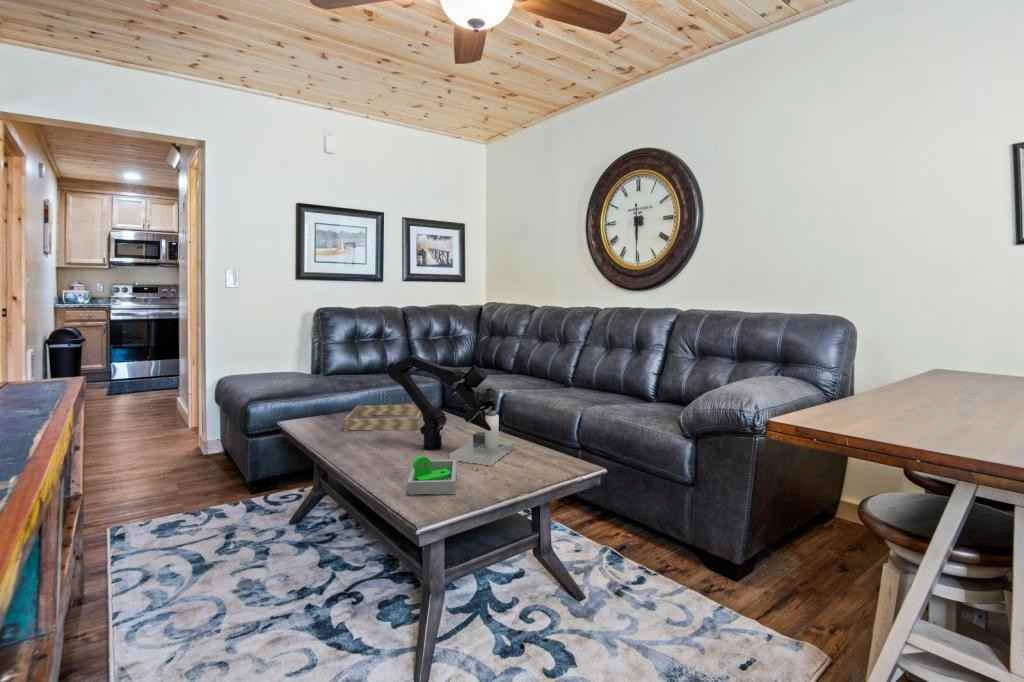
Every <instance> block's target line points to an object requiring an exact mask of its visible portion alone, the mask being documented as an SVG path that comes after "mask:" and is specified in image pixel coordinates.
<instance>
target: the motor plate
mask: <svg viewBox="0 0 1024 682" xmlns="http://www.w3.org/2000/svg"><path fill="white" fill-rule="evenodd" d="M513 450H515V442H512V441H505V440H504V441H503V440H499V449H498V450H490V449H485V432H480V431H476V432H475V433H473V434H472V440H470V441H468V442H467V443H466V444H464V445H462V446H460V447H459V448H457V449H456V450H453V451H452V452H450V453H449V460H457V462H458V461H462V462H461V463H465V462H469V463H468V464H472V463H477V464H476V465H479V464H482V465H481V466H486V465H488V466H487V467H492V466H493V465H495V464H496V463H498V462H499V461H500V460H502V459H503V458H504V457H505V456H506V454H507V453H508V454H509V453H510V451H511V452H512V451H513ZM508 454H507V455H508ZM503 456H504V457H503ZM502 457H503V458H502ZM499 459H500V460H499ZM498 460H499V461H498ZM495 462H496V463H495ZM491 465H492V466H491Z"/></svg>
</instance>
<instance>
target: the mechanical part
mask: <svg viewBox="0 0 1024 682" xmlns="http://www.w3.org/2000/svg"><path fill="white" fill-rule="evenodd" d="M422 462H424V467H423V468H421V469H419V465H420V463H422ZM412 466H413V468H414V469H415V481H431V480H444V479H447V480H449V479H451V477H452V472H451V471H449V470H448V469H446V468H445V469H440V470H435V471H431V463H430V459H429V457H427V456H425V455H418V456H417V457H415V459H414V460H413V461H412ZM448 478H449V479H448Z"/></svg>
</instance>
